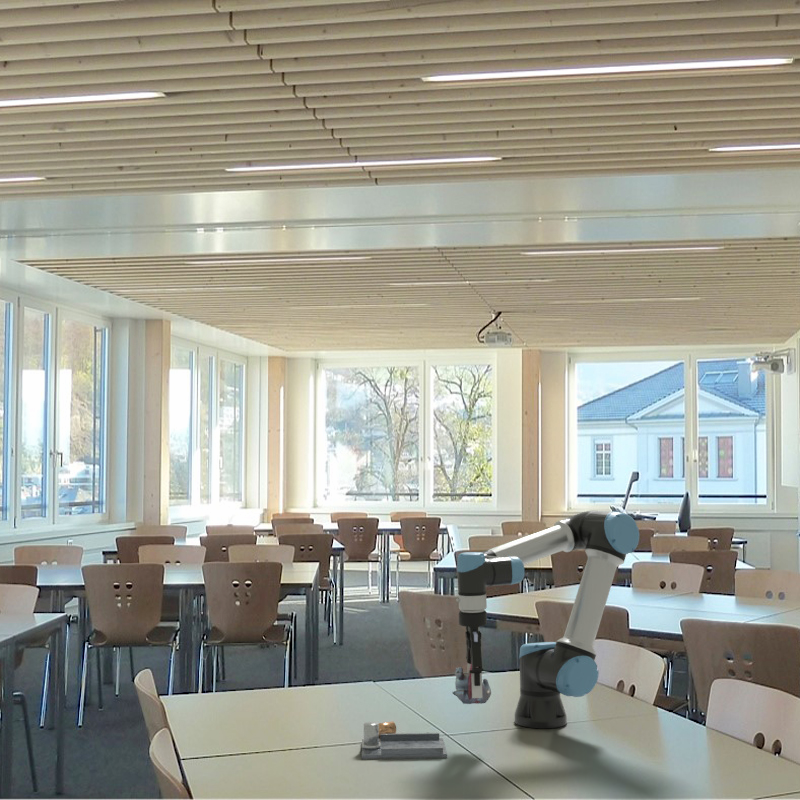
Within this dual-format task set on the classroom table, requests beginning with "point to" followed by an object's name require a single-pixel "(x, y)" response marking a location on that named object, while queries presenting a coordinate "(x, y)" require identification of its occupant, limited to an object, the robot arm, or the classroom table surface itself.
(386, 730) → the golden brown rounded block
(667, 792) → the classroom table surface
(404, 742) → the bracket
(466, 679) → the brake caliper
